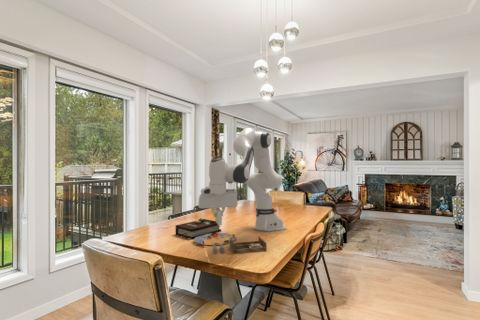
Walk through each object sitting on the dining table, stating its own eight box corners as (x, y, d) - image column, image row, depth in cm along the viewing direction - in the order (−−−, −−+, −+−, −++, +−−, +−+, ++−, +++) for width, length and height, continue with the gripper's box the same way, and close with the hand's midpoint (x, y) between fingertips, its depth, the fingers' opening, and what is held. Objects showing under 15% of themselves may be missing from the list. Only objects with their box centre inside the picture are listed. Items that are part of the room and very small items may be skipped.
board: (221, 225, 136) (221, 210, 136) (218, 225, 135) (218, 211, 135) (218, 220, 146) (218, 207, 146) (215, 220, 146) (215, 207, 146)
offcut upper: (258, 245, 146) (258, 243, 146) (260, 247, 143) (260, 245, 143) (250, 246, 145) (250, 244, 145) (252, 248, 141) (252, 246, 141)
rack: (259, 246, 153) (259, 236, 153) (266, 253, 141) (266, 242, 141) (229, 248, 149) (229, 239, 149) (234, 255, 137) (234, 245, 137)
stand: (224, 250, 146) (224, 243, 146) (226, 255, 138) (226, 248, 138) (211, 251, 145) (211, 244, 145) (212, 256, 137) (212, 249, 137)
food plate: (216, 233, 180) (215, 228, 180) (243, 240, 165) (243, 234, 165) (186, 243, 161) (186, 237, 161) (214, 252, 146) (214, 245, 146)
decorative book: (171, 224, 178) (205, 217, 201) (171, 236, 178) (206, 227, 201) (190, 228, 165) (224, 220, 188) (190, 241, 165) (224, 231, 188)
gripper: (236, 188, 147) (236, 214, 147) (197, 189, 143) (198, 216, 143) (238, 189, 141) (239, 216, 141) (198, 190, 137) (199, 218, 136)
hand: (218, 216), depth 142 cm, fingers closed on board, 2 cm apart
